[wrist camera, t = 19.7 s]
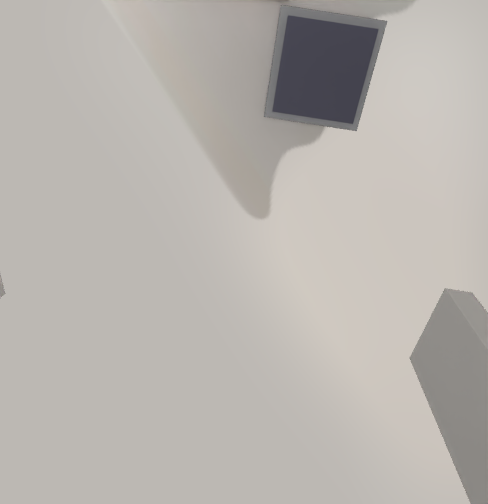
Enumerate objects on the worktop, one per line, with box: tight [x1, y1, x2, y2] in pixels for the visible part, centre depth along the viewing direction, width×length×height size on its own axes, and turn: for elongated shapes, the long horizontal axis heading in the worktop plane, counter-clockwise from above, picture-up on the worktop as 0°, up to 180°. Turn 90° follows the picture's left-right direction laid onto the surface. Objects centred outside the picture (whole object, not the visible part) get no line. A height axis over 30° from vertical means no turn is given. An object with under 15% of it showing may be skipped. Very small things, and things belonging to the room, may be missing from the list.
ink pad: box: [264, 5, 387, 131], centre depth 32 cm, size 9×9×2 cm
